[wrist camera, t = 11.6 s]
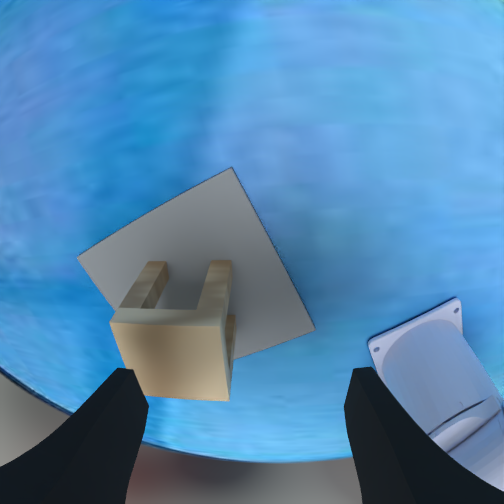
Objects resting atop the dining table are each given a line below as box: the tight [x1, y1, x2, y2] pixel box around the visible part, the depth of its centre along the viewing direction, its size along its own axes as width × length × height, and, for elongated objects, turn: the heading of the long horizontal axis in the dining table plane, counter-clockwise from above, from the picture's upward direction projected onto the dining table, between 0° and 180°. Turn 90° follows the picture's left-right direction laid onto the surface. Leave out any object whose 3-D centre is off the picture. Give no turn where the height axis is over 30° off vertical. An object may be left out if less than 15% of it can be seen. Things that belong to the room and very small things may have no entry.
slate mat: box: [77, 167, 316, 360], centre depth 20 cm, size 12×12×1 cm
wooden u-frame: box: [109, 260, 236, 401], centre depth 17 cm, size 5×5×6 cm
